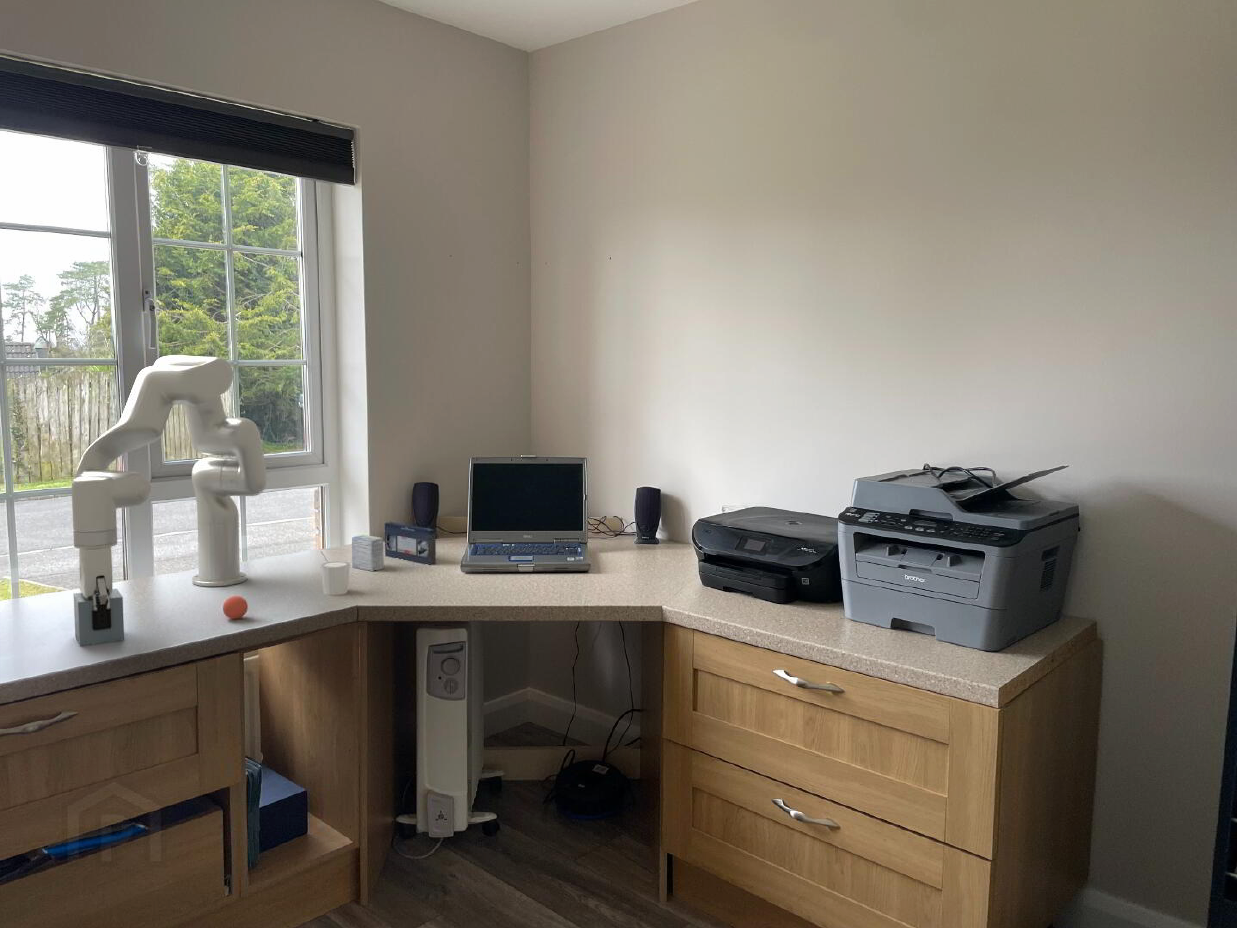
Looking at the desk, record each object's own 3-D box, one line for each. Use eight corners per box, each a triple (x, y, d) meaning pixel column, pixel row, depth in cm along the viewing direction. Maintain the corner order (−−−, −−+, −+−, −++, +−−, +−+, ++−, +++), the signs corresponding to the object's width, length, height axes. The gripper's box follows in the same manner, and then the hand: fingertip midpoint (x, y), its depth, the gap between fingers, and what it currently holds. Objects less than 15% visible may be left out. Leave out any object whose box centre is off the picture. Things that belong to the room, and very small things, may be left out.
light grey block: (384, 569, 247) (384, 537, 246) (371, 572, 243) (371, 540, 242) (364, 564, 251) (364, 534, 250) (351, 567, 247) (351, 536, 246)
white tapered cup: (341, 596, 217) (341, 568, 217) (315, 594, 219) (315, 566, 218) (355, 589, 224) (355, 562, 223) (329, 587, 225) (329, 560, 225)
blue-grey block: (75, 635, 182) (73, 593, 181) (118, 629, 187) (116, 588, 186) (79, 646, 176) (78, 602, 175) (124, 639, 181) (122, 596, 180)
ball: (220, 617, 198) (220, 595, 197) (244, 614, 201) (244, 592, 200) (226, 623, 194) (225, 600, 193) (250, 619, 197) (250, 597, 196)
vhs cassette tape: (384, 556, 262) (384, 522, 261) (392, 554, 265) (392, 521, 264) (428, 566, 252) (428, 530, 251) (436, 564, 254) (436, 529, 253)
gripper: (68, 532, 184) (72, 616, 186) (79, 547, 170) (82, 638, 172) (110, 529, 189) (113, 610, 191) (123, 543, 175) (127, 631, 177)
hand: (99, 623), depth 181 cm, fingers closed on blue-grey block, 7 cm apart
